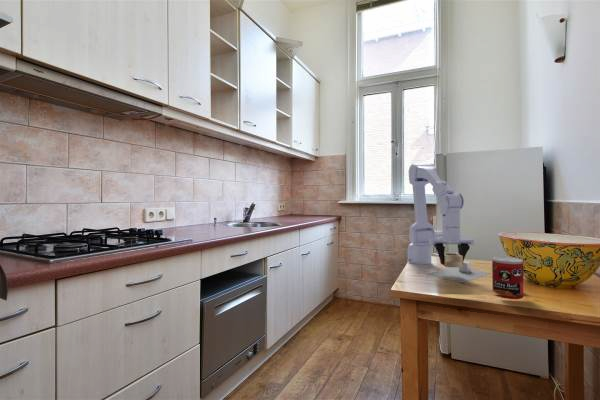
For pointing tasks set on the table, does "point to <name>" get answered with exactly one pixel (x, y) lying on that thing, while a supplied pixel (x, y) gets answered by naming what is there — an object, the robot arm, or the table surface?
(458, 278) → the board
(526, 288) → the table surface
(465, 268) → the pale grey block
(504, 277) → the canned food
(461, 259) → the collar
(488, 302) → the table surface
